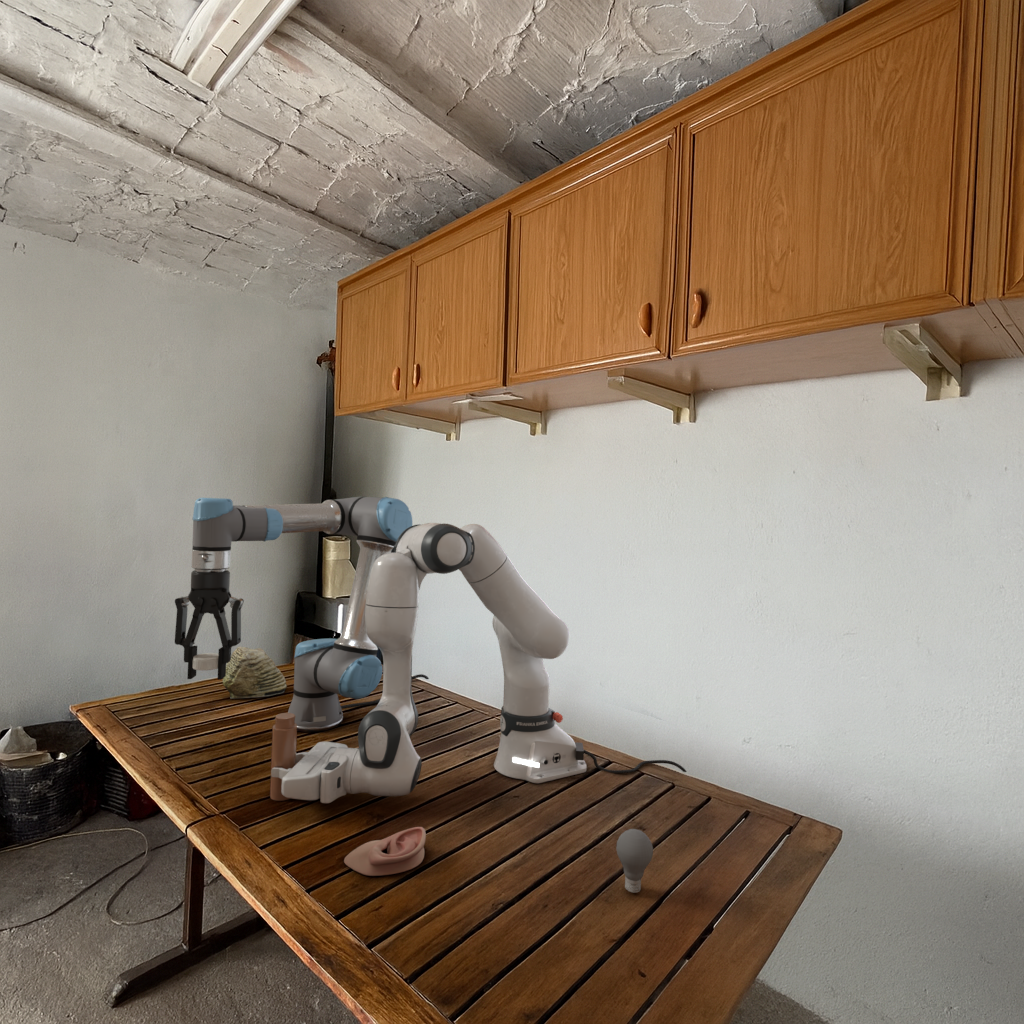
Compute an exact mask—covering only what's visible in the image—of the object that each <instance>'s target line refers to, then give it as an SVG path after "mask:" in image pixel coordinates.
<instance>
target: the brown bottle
mask: <svg viewBox="0 0 1024 1024" xmlns="http://www.w3.org/2000/svg"><path fill="white" fill-rule="evenodd" d="M274 721H275V723H274V724H273V725H272V729H271V730H272V733H271V754H270V755H271V757H270V758H271V759H270V771H271V770H272V769H273V768H274V767H275V766H283V768H284V769H287V770H288V769H289V768H291V769H292V768H293V767H294V766H295V765H296V764H297V763H296V754H297V741H298V731H297V724H296V723H295V714H293V713H288V712H281V713H278V714H276V715H275V718H274ZM269 782H270V785H269V786H270V787H269V798H270V799H271V800H273V801H277V802H281V801H282V802H283V801H288V800H290V799H291V798H287V797H285V796H283V795H282V793H281V785H282V779H280V778H278V777H272V776H271V775H270V781H269Z"/></svg>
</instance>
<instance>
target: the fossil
mask: <svg viewBox="0 0 1024 1024" xmlns="http://www.w3.org/2000/svg"><path fill="white" fill-rule="evenodd" d="M222 685H223V687H224V688H225V690H226V691H228V693H229V698H230V699H250V698H264V697H271V696H275V695H281V694H284V693H285V691H286V689H287V687H288V686H287V680H286V678H285V676H284V674H283V673H282V672H281V669H279V668H278V667H277V665H276V663H275V662H274V660H273V659H272V658H271V657H270V656H269V655H268V654H267V653H266V652H265V650H264V649H263V648H260V647H258V648H251V647H247V646H246V647H245V646H238V647H237V648H236V649H235V650H233V651H232V652H231V660H230V662H229V663H226V676H225V677H224V678H223V679H222Z"/></svg>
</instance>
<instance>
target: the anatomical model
mask: <svg viewBox="0 0 1024 1024" xmlns="http://www.w3.org/2000/svg"><path fill="white" fill-rule="evenodd" d="M426 839H427V834H426V829H425V827H423V826H415V827H411V828H407V829H404V830H401V831H398V832H396V833H394V834H392V835H389V836H387V837H385V838H383V839H376V840H370V841H368V842H365V843H363V844H361V845H359V846H357V847H356V848H355V849H353V850H352V851H350V852H349V853H348V854H347V855H346V856H345V857H344V859H343V863H344V865H346V866H347V867H348V868H350V869H352V870H353V871H355V872H356V873H359V874H361V875H364V876H369V877H377V876H389V875H394V874H395V875H396V874H399V873H403V872H407V871H409V870H412V869H414V868H416V867H418V866H419V865H421V863H422V862H423V860H424V859H425V848H424V846H425V844H426Z"/></svg>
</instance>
